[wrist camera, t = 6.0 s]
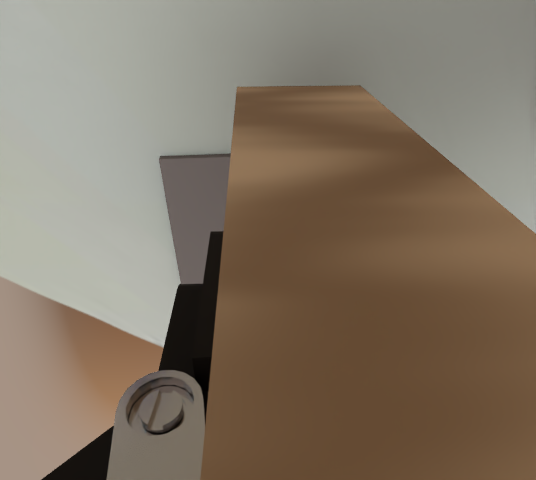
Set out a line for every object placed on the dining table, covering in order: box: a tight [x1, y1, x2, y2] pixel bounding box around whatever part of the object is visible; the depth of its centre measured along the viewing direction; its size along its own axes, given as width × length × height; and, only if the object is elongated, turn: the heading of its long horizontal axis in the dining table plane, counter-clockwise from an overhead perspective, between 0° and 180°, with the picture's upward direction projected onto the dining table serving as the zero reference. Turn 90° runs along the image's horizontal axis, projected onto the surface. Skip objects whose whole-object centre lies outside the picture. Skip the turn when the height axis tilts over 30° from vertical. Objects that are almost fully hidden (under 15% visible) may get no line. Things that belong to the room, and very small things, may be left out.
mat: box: [159, 154, 231, 284], centre depth 34 cm, size 18×13×1 cm
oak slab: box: [200, 85, 536, 480], centre depth 8 cm, size 4×8×12 cm, turn 0°
